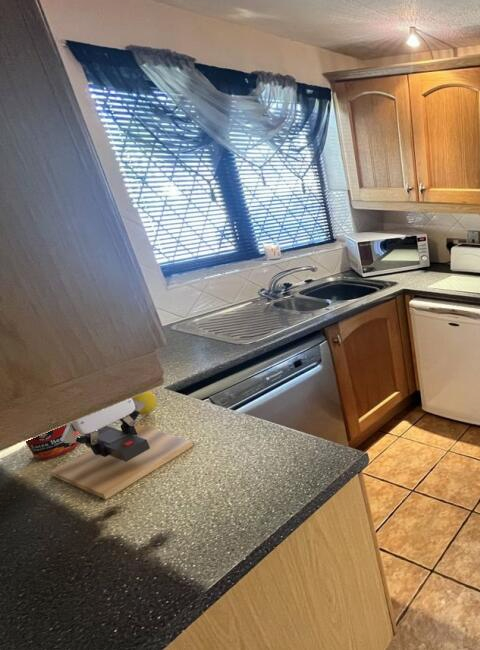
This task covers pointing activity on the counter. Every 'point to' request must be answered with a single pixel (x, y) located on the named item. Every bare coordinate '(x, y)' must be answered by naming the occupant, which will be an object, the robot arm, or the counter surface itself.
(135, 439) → the remote
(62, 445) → the canned food
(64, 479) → the board
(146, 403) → the lemon
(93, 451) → the robot arm
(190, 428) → the counter surface
